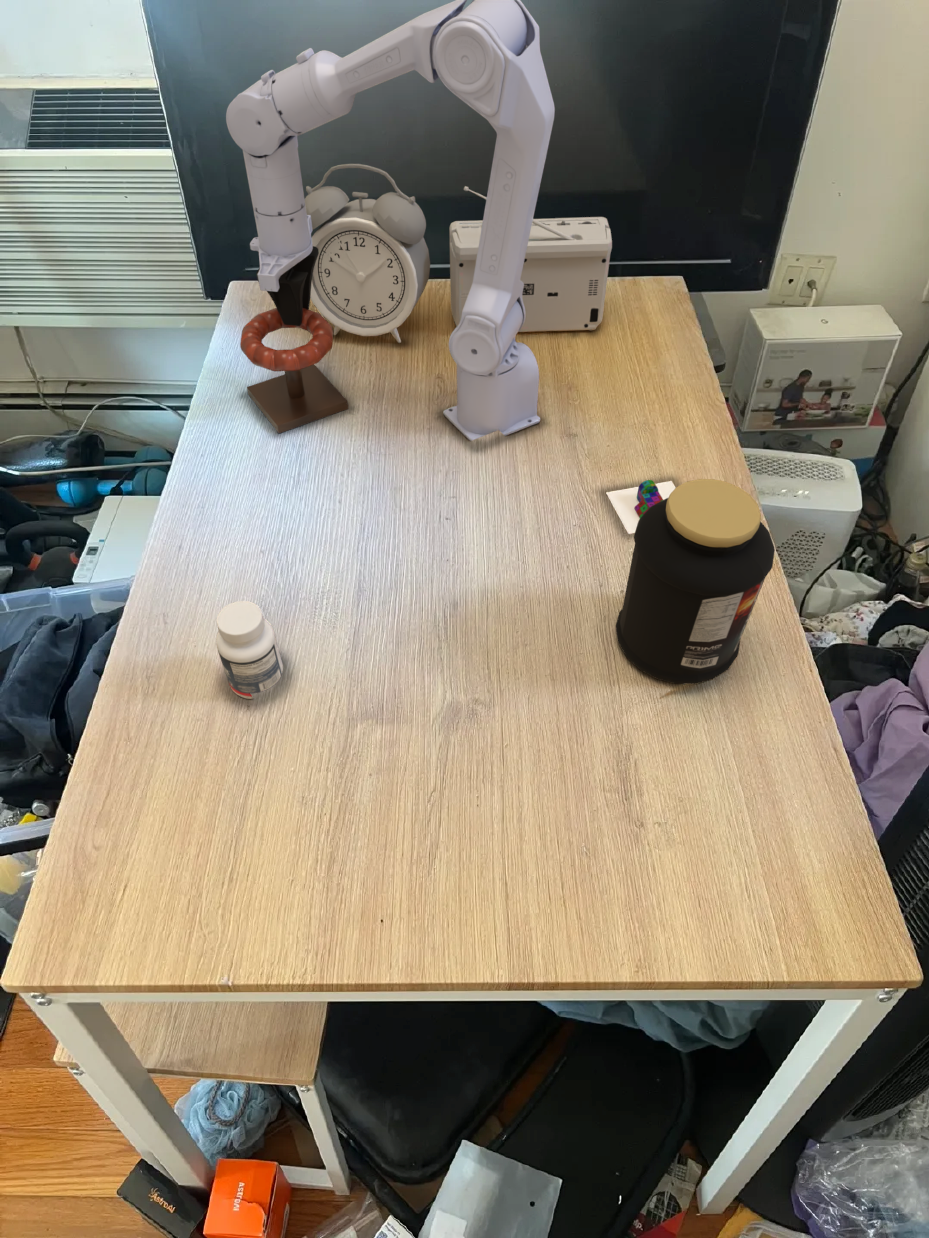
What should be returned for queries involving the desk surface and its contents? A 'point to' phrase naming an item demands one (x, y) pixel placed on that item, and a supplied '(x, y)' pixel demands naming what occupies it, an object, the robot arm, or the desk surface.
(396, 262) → the alarm clock
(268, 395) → the ring toss peg
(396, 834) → the desk surface
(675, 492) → the container
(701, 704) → the desk surface
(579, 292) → the radio
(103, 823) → the desk surface
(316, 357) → the loop ring
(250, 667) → the pill bottle
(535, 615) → the desk surface
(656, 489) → the white flat piece
